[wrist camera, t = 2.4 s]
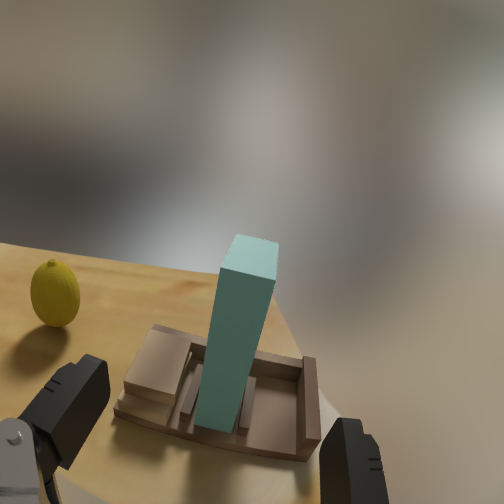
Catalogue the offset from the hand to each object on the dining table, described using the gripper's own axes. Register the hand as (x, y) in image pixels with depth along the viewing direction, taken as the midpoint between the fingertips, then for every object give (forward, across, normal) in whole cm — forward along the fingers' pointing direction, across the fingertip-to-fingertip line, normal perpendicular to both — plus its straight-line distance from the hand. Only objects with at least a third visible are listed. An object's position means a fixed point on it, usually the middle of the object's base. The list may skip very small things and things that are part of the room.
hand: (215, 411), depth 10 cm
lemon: (+15, +19, +14) cm, 28 cm away
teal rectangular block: (+12, 0, +13) cm, 17 cm away
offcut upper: (+12, +6, +11) cm, 17 cm away
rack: (+13, 0, +14) cm, 19 cm away
